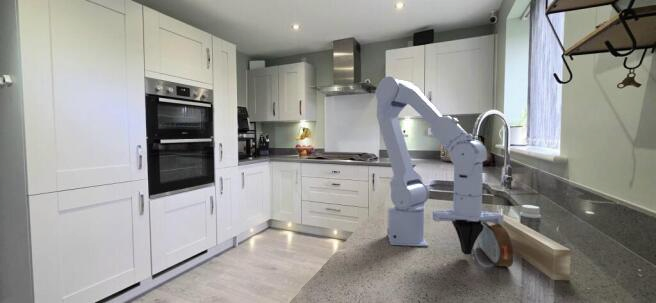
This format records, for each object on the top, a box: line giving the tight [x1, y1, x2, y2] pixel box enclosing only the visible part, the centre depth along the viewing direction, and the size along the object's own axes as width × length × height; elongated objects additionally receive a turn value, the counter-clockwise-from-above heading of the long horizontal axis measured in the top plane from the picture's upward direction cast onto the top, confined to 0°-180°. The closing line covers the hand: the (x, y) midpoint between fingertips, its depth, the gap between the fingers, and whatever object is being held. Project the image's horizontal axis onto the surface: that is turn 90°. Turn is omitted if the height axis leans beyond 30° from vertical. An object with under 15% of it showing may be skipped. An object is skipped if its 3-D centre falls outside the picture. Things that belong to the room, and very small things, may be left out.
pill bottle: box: [519, 204, 542, 234], centre depth 74 cm, size 5×5×8 cm
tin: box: [476, 222, 515, 268], centre depth 61 cm, size 15×3×8 cm, turn 168°
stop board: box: [500, 213, 572, 281], centre depth 63 cm, size 3×24×6 cm, turn 173°
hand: (466, 252), depth 60 cm, fingers closed
